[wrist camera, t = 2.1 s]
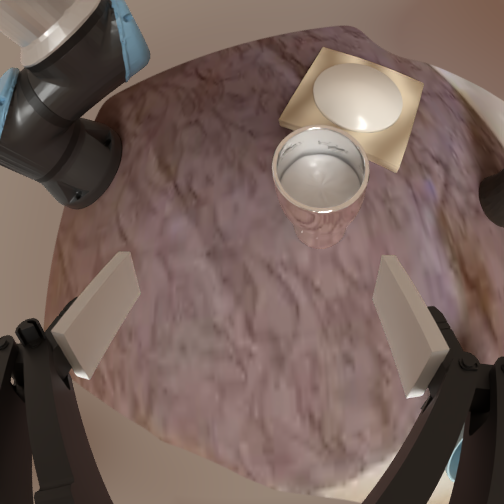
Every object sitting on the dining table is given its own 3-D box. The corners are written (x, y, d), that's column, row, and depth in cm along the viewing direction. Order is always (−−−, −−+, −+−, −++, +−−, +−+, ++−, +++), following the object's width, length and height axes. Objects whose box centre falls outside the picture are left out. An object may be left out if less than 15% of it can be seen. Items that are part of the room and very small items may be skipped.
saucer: (299, 112, 34) (298, 109, 33) (331, 57, 34) (331, 54, 33) (388, 148, 31) (389, 144, 30) (409, 86, 31) (410, 82, 30)
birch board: (280, 125, 36) (278, 119, 34) (323, 53, 36) (322, 47, 35) (396, 173, 31) (398, 168, 30) (421, 89, 32) (423, 83, 31)
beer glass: (290, 193, 34) (270, 122, 19) (349, 195, 32) (367, 123, 18) (288, 252, 33) (265, 215, 18) (350, 254, 31) (375, 217, 17)
